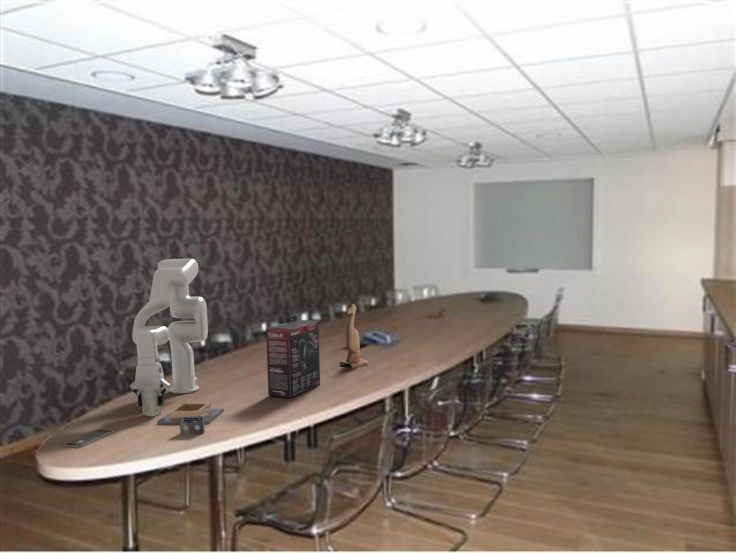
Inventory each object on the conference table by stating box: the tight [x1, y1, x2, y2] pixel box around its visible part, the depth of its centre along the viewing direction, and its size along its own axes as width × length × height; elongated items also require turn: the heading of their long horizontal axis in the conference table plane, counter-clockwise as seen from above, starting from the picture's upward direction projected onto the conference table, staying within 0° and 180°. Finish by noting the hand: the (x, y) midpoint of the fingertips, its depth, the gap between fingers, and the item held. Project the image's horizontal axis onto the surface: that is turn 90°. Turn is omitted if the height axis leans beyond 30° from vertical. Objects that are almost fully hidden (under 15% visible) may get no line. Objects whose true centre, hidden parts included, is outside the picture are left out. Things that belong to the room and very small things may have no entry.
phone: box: [64, 429, 114, 449], centre depth 214 cm, size 8×1×16 cm
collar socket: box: [156, 402, 225, 425], centre depth 235 cm, size 16×20×4 cm
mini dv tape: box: [179, 416, 206, 435], centre depth 216 cm, size 8×2×6 cm, turn 88°
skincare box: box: [141, 386, 162, 417], centre depth 240 cm, size 6×4×12 cm
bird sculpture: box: [339, 303, 369, 369], centre depth 313 cm, size 11×12×32 cm
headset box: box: [265, 315, 321, 399], centre depth 267 cm, size 24×13×33 cm, turn 154°
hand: (151, 404), depth 240 cm, fingers closed on skincare box, 7 cm apart
